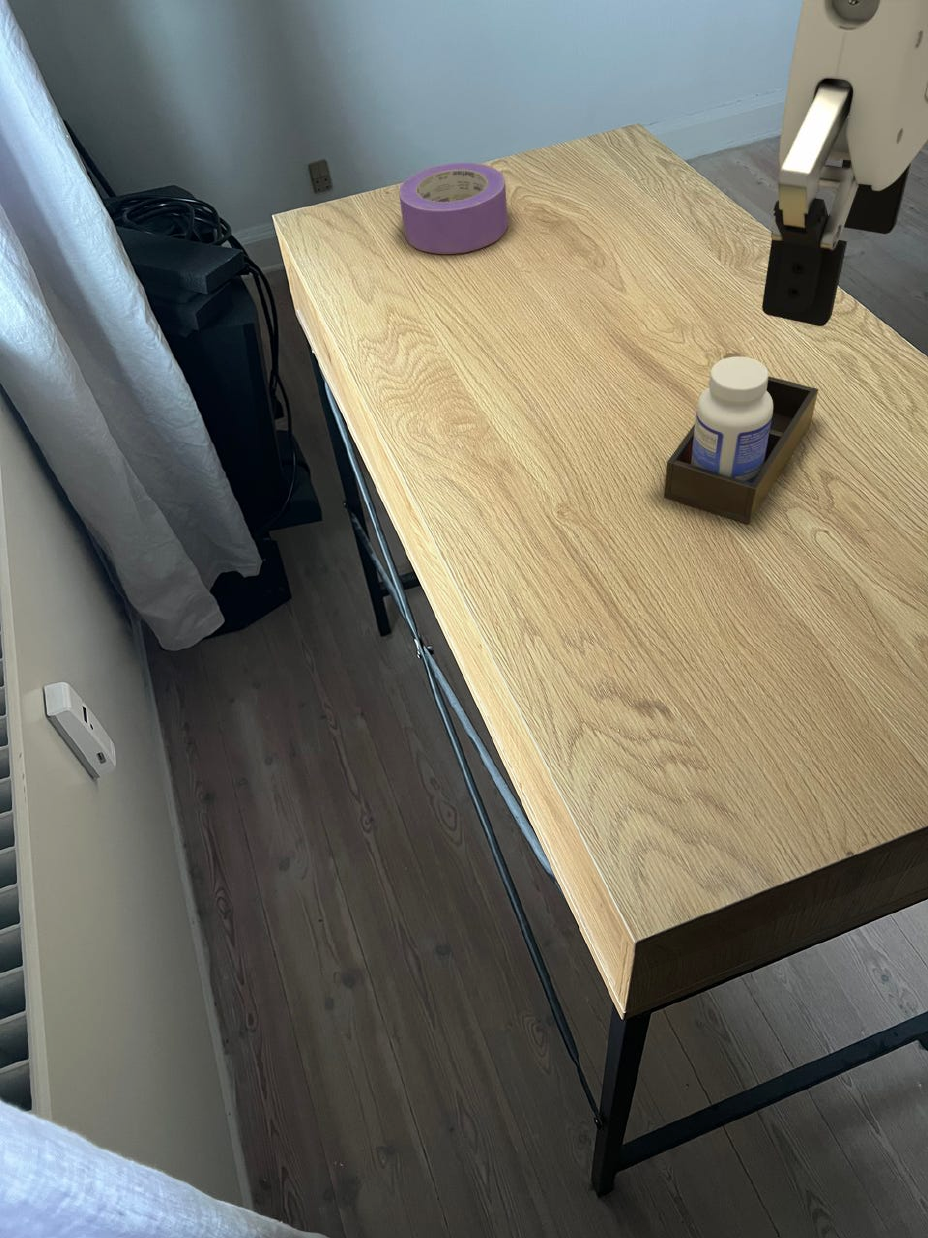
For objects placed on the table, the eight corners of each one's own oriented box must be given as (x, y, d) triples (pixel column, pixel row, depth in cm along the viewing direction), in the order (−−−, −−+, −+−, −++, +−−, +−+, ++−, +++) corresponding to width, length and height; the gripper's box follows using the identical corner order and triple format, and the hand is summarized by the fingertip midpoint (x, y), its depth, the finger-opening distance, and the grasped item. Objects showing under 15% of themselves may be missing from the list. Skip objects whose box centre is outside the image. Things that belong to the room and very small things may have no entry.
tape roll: (404, 211, 109) (398, 167, 106) (503, 199, 109) (500, 155, 105) (406, 261, 102) (399, 216, 98) (512, 248, 101) (509, 202, 98)
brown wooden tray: (810, 424, 77) (818, 388, 75) (749, 524, 70) (755, 489, 68) (730, 403, 80) (735, 367, 78) (663, 497, 73) (666, 461, 71)
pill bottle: (762, 457, 74) (782, 351, 67) (758, 503, 71) (779, 396, 63) (692, 451, 75) (704, 347, 68) (685, 496, 72) (697, 391, 65)
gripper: (960, -103, 28) (847, 377, 41) (1077, -214, 37) (955, 208, 50) (726, -106, 32) (689, 340, 44) (886, -208, 41) (816, 188, 53)
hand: (830, 270), depth 47 cm, fingers open, 9 cm apart
